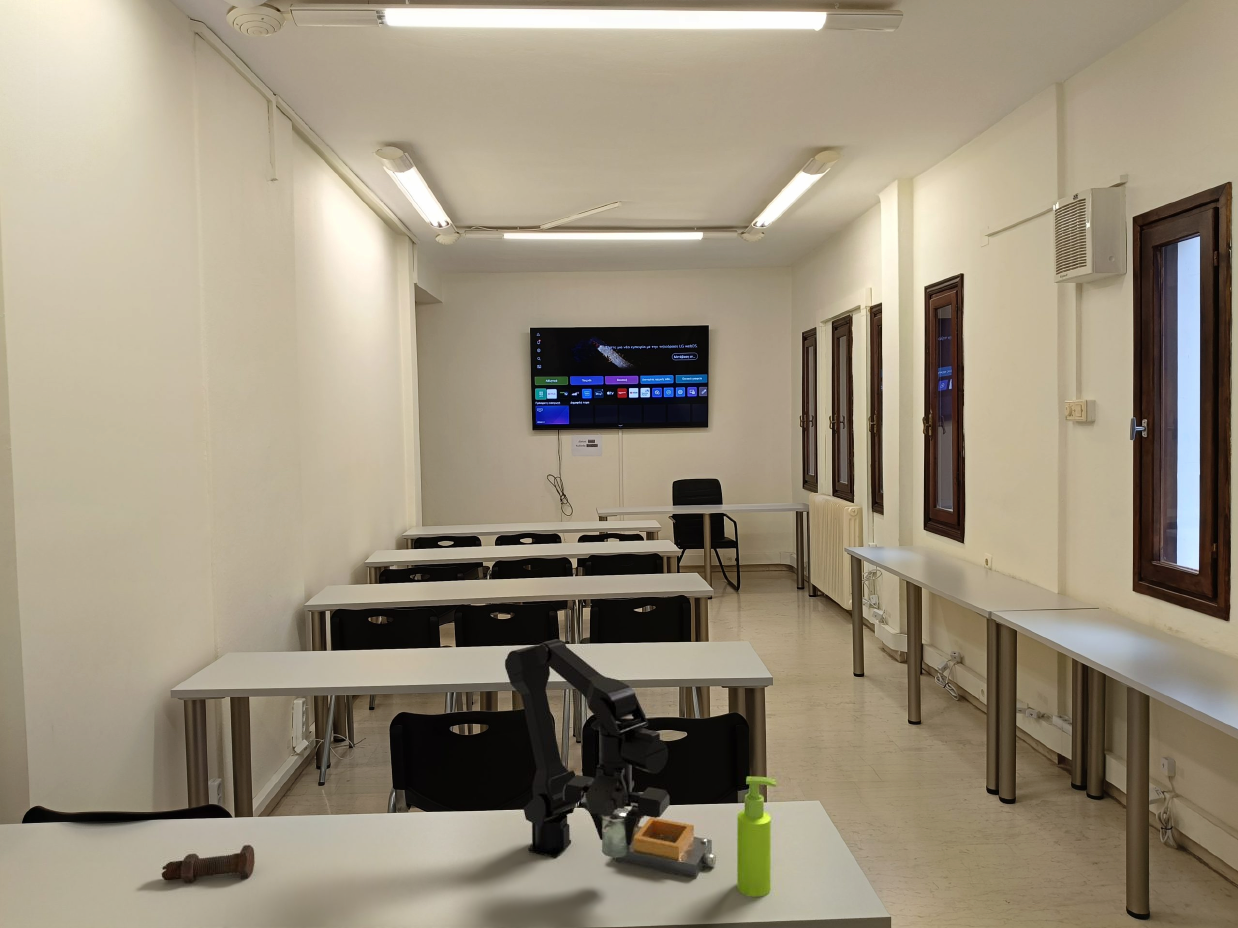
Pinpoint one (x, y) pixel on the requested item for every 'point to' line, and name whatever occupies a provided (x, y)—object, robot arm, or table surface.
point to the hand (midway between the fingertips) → (615, 841)
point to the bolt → (211, 866)
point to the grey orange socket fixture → (669, 848)
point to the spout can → (615, 833)
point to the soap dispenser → (754, 842)
